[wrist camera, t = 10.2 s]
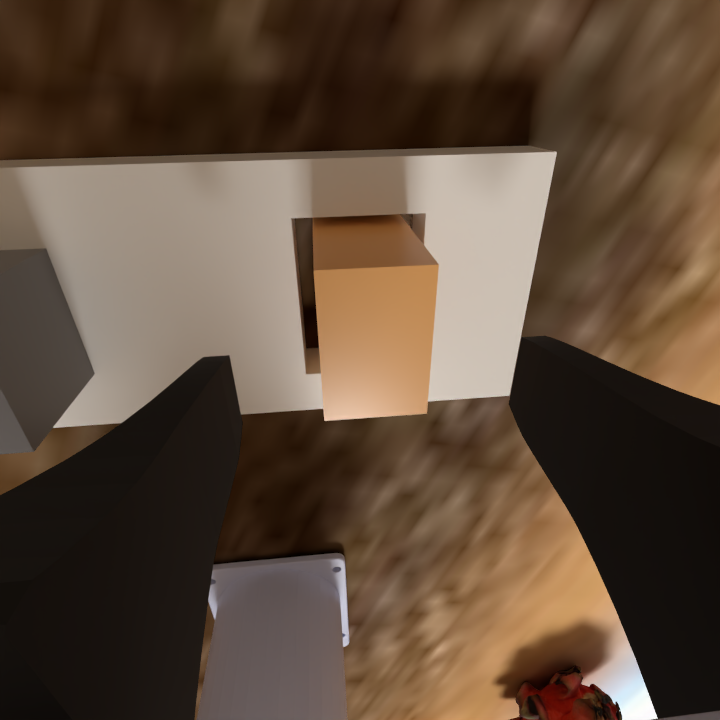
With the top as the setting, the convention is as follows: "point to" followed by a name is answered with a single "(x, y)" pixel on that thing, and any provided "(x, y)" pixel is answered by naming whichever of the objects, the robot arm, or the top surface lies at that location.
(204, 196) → the white insertion base
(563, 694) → the dragon fruit
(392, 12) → the top surface
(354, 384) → the orange rectangular block
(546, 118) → the top surface
